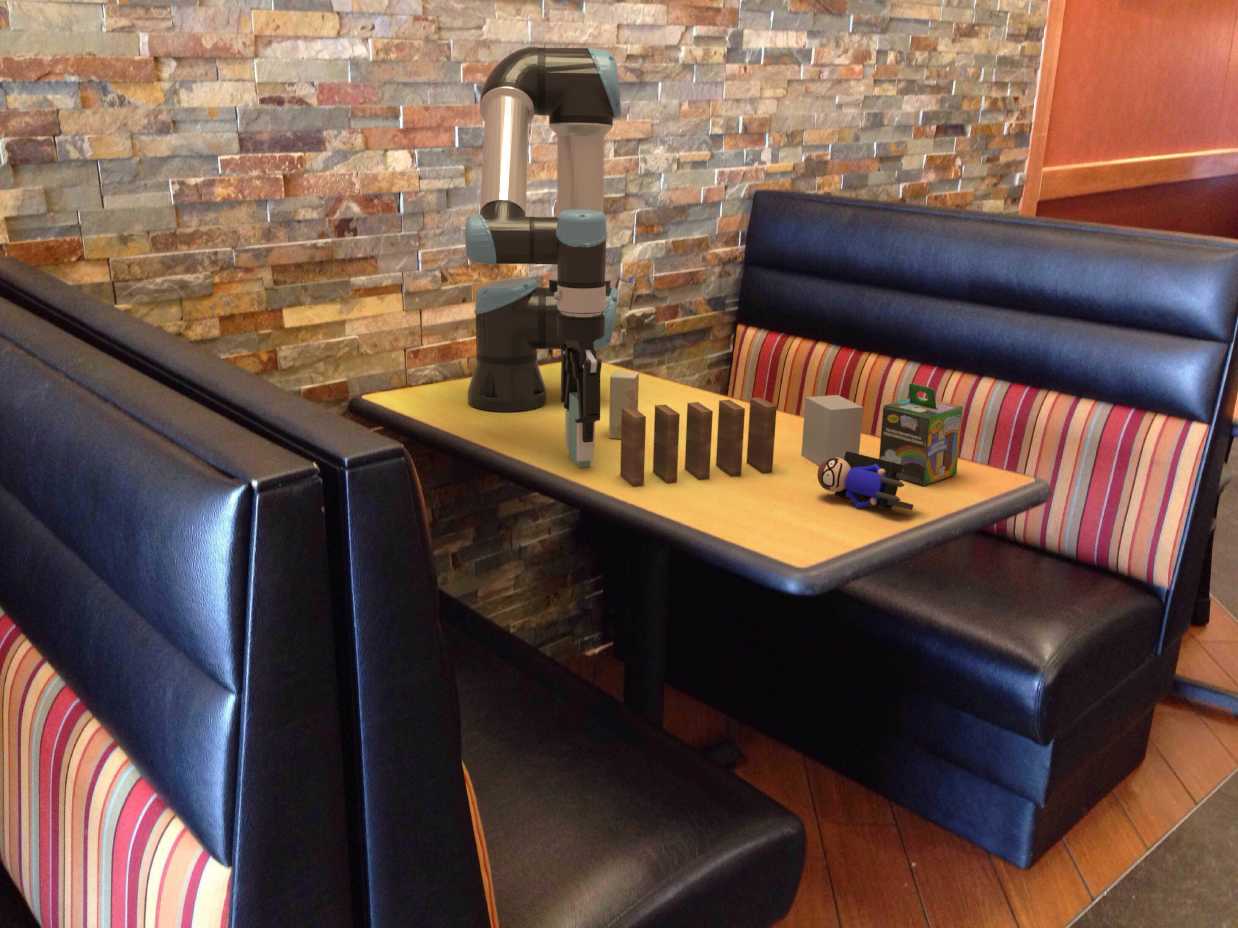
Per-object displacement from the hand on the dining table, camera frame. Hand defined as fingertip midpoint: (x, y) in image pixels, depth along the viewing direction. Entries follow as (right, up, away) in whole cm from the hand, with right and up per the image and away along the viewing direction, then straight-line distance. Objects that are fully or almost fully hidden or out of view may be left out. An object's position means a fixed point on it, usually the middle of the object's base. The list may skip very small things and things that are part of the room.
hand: (579, 453), depth 178 cm
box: (+7, +3, +15) cm, 17 cm away
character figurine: (+43, -8, -16) cm, 46 cm away
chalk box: (+54, -3, -2) cm, 54 cm away
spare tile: (0, -1, 0) cm, 1 cm away
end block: (+41, -1, +4) cm, 41 cm away
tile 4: (+24, -3, -2) cm, 24 cm away
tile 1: (+8, -4, -8) cm, 12 cm away
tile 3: (+19, -3, -4) cm, 19 cm away
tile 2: (+14, -4, -6) cm, 15 cm away
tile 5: (+29, -2, 0) cm, 29 cm away
